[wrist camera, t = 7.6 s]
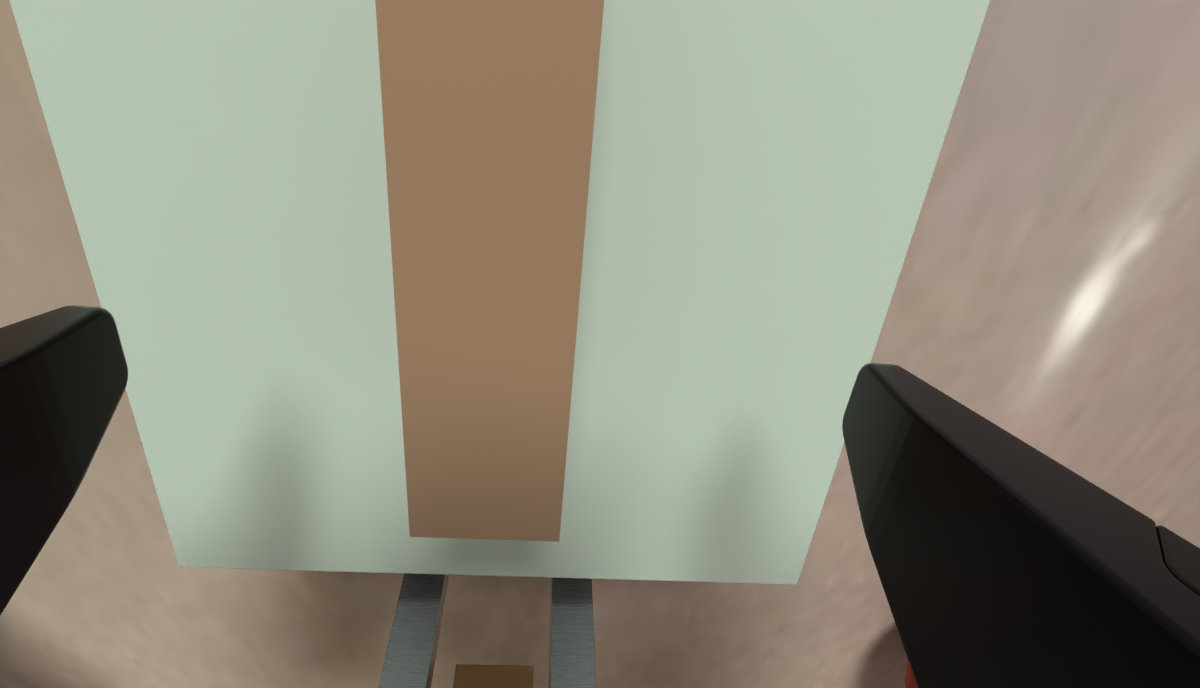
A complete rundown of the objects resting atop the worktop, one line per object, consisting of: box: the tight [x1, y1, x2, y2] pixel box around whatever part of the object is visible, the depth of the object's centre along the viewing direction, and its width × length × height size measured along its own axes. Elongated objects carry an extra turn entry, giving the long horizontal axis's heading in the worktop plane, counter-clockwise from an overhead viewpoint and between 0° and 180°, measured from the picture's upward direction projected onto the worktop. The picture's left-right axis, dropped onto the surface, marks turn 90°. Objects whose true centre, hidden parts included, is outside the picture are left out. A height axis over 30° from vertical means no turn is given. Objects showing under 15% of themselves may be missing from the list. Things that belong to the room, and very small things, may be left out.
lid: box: [10, 0, 990, 584], centre depth 12 cm, size 21×15×6 cm
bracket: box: [379, 573, 596, 688], centre depth 21 cm, size 1×5×11 cm, turn 85°
